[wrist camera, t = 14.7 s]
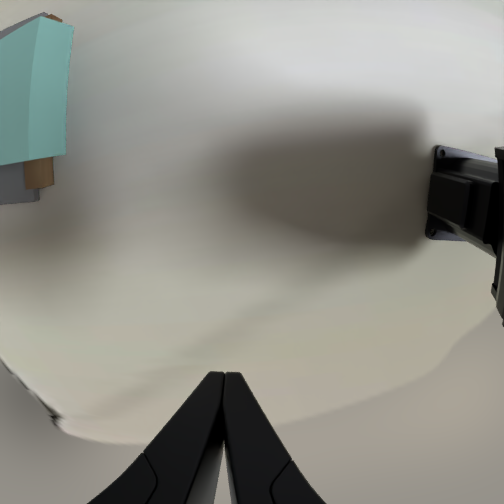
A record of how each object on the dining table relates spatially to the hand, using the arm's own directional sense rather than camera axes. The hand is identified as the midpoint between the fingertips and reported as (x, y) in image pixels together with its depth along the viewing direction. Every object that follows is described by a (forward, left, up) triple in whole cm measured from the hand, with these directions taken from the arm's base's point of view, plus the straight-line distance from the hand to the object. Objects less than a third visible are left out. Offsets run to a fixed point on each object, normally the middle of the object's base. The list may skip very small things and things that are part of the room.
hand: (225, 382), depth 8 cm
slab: (+10, -10, -8) cm, 16 cm away
